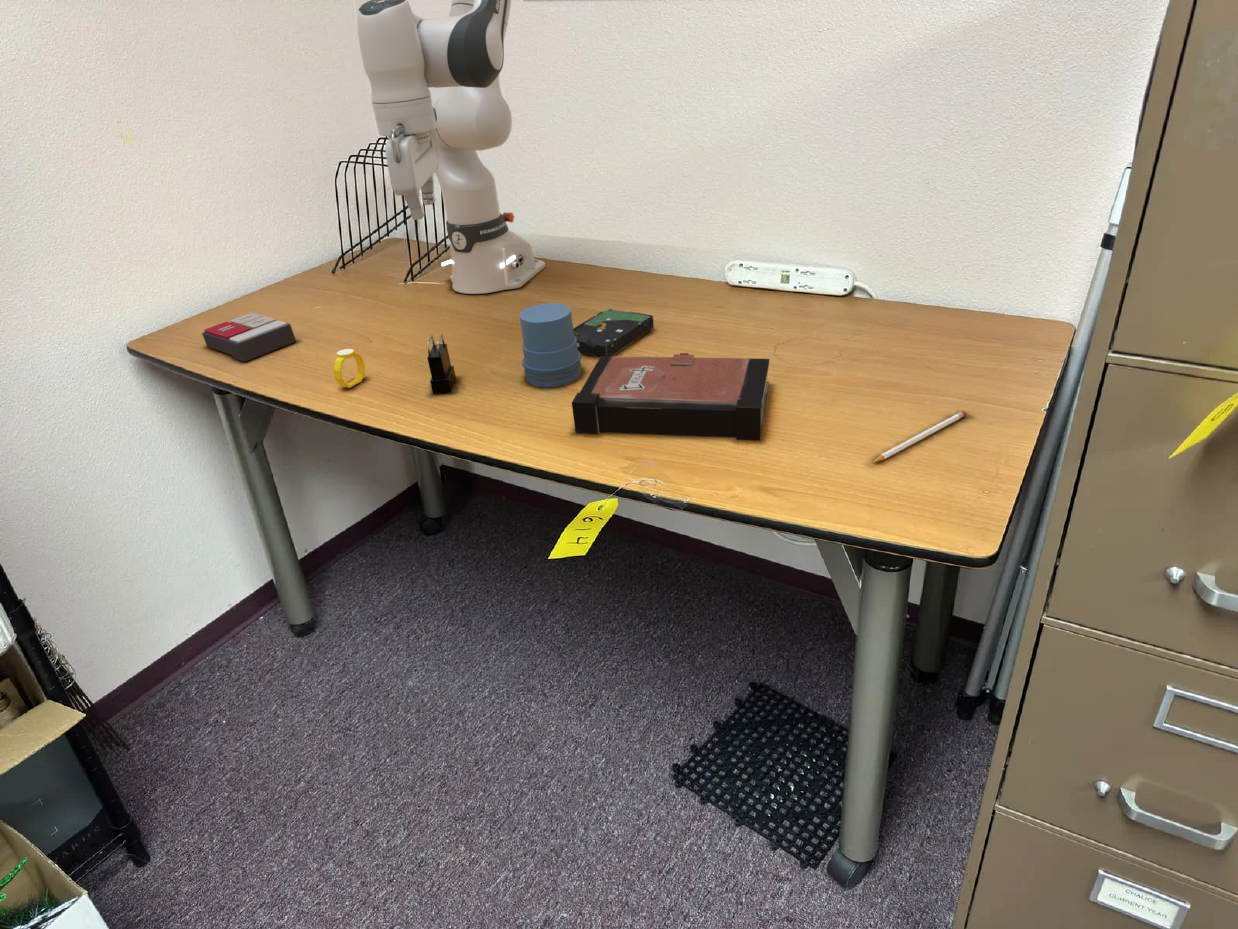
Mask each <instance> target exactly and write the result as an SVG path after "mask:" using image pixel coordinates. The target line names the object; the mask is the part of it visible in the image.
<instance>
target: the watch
mask: <svg viewBox="0 0 1238 929" xmlns="http://www.w3.org/2000/svg"><path fill="white" fill-rule="evenodd" d="M336 356H337V358H336V359H335V361H334V366H333V374H334V379H335V381H336V382H337V384H338V385H339V386H341V387H343V388H348V389H351V388H352V387H355V385H358V384H359V383H361V382H362V381H363V379H364V376H365V369H366V367H365V362H364V359H363V357H362V356H361V354H360V353H358V352H356V351H355V350H354V349H353V348H344V349H340V350H338V351H337V352H336ZM352 357H353V358H354V360H355V362H356V365H357V369H356V374H355V377H354V379H353V380H351V381H349V382H347V383H346V381H345V380H344V378H343V374H342V368H343V363H344V362H345V360H346V359H349V358H352Z"/></svg>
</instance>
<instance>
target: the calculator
mask: <svg viewBox="0 0 1238 929" xmlns="http://www.w3.org/2000/svg"><path fill="white" fill-rule="evenodd" d="M201 335H202V337H203V339H204V342H205V345H206V347H207V348H210V349H212V350H215V351H218V352H222V353H223V354H227V355H230V356H231V357H232V358H233V359H235V360H238V361H240V362H245V363H246V362H248V361H250V360H253V359H255V358H258V357H260V356H263V355H266V354H268V353H270V352H273V351H276V350H279V349H281V348H283V347H285V346H288V345H291V344H294V343H296V341H297V340H296V336H295V334H294V332H293V328H292V325H291V323H289V322H285V321H282V320H276V318H274V317H269V316H266V315H262V314H258V313H254V312H249V313H246V314H244V315H240V316H238V317H235V318H232V319H230V320H229V321H224V322H222V323H221V322H220V323H219V324H218V323H217V324H215V325H213V326H209V327H207V328H205V329H203V332H202V333H201Z"/></svg>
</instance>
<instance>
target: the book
mask: <svg viewBox="0 0 1238 929" xmlns="http://www.w3.org/2000/svg"><path fill="white" fill-rule="evenodd" d="M770 360H771V359H770V358H745V357H744V358H743V357H739V358H738V357H695V354H690V353H689V352H679V354H673V356H620V355H619V356H617V355H613V356H601V357H598V360H597V362H596V364H595V365H594V367H593V369H592V370H591V373H590V374H589V376H588V377H587V379H586V381H585V382H584V384H583V385H582V388H581V389H580V391H579V392H576V394H575V396H574V397H573V400H572V401H571V410H572V416H573V417H572V418H573V422H574V423H573V424H574V432H575V434H578V435H579V434H580V435H598V434H599V433H601V434H602V433H603V434H605V433H606V434H626V435H627V434H628V435H629V434H631V435H655V436H677V437H678V436H681V437H706V438H732V439H733V438H734V439H735V440H736V441H753V442H754V441H755V442H759V441H761V440H762V439H761V438H762V433H763V426H764V422H765V421H764V420H765V416H766V415H765V414H766V408H767V402H768V396H769V389H770V381H767V379H768V374H769V369H770V362H771V361H770Z"/></svg>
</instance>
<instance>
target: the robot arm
mask: <svg viewBox="0 0 1238 929" xmlns="http://www.w3.org/2000/svg"><path fill="white" fill-rule="evenodd" d="M511 7H512V0H452V1H451V4H450V9H449V14H448V16H446V17H436V18H435V17H434V18H423V16H419V15H417V14H416V13H414V12H413V11H412V7H411V5H410V2H409V1H408V0H368V1H366V2H364V3H363V4H361V5H360V7H359V8H358V9H357V13H356V27H357V28H356V29H357V37H358V43H359V50H360V55H361V60H362V65H363V69H364V72H365V74H366V76H367V78H368V81H369V83H370V89H371V95H370V100H371V105H372V109H373V115H374V118H375V122H376V123H375V124H376V127H377V131H378V135H379V136H381V137H387V139H388V141H387V142H386V143H385V148H384V149H385V157H386V164H387V170H388V175H389V180H390V185H391V186H390V187H391V189H392V191H393V194H394V195H395V196H398V197H399V196H404V200H405V203H406V204H407V207H408V209H409V212H410V216H411V219H412V220H414V221H417V220H423V218H424V217H425V214H426V213H425V209H424V205H425V206H429V205H430V206H431V205H434V204H435V202H436V195H435V180H434V179H435V178H434V174H435V176H436V178H437V181H438V184H439V188H440V191H441V196H442V202H443V206H444V208H445V209H444V210H445V214H446V221H445V224H446V232H447V238H448V240H449V241H450V244H449V253H450V254H449V255H450V259H449V260H446V261H443V262H441V263H440V264H441V267H445V266H447V265H451V275H450V281H451V283H452V285H451V286H452V287H451V288H452V290H453V291H455V292H457V293H460V294H466V295H482V294H490V293H495V292H500V291H504V290H505V291H506V290H515V289H520V288H521V287H523V286H525V284H526V283H528V282H529V281H530V280H531V279H532V278H534V277H535V276H536V275H537V274H539V273H540V272H541V271H542V270H544V269H545V268H546V263H545V261H543V260H541V259H537V258H534V254H533V253H534V252H533V249H532V246H531V244H530V242H529V241H528V240H527V239H526V238H523V237H521V236H520V235H518V234H517V233H515V232H514V231H512V230H510V229H509V226H508V224H507V223H513V222H514V221H515V214H514V212H508V211H505V212H503V213H501V210H500V202H499V197H498V192H497V185H496V179H495V177H494V175H493V173H492V171H490V170H489V168H488V167H487V166H485V165H484V164H483V162H482V160H481V159H480V157H479V155H478V154H477V152H476V151H479V152H480V151H481V152H482V151H486V150H490V149H491V150H492V149H495V148H498V147H501V146H503V145H504V144H505V143H506V142H507V140H509V137H510V136H511V132H512V129H513V128H512V127H513V117H512V112H511V111H512V110H511V109H510V106H509V104H508V102H507V101H506V99H505V98H504V96H503V94H502V89H501V82H500V73H501V72H502V69H503V68H504V59H505V50H504V43H505V38H506V34H507V28H508V24H509V20H510V15H511ZM420 190H421V193H420ZM420 196H421V198H420ZM421 199H422V201H421ZM422 203H423V205H422Z"/></svg>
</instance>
